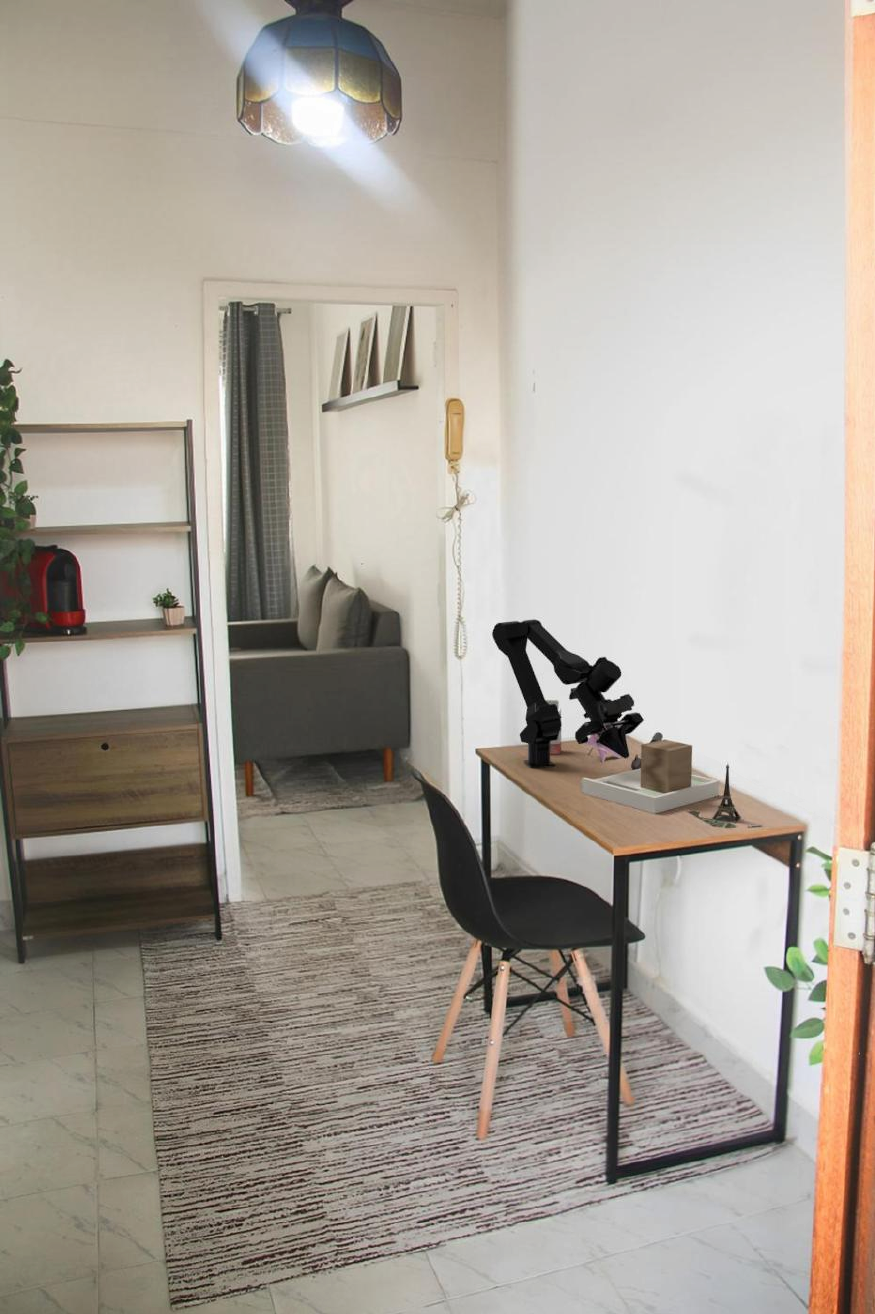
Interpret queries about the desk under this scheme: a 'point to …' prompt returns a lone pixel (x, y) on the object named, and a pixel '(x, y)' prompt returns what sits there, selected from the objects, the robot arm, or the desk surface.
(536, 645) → the robot arm
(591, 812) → the desk surface
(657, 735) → the portable electronic device stand
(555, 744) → the ink cartridge box
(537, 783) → the desk surface
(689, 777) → the walnut block
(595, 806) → the desk surface
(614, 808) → the desk surface
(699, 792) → the box
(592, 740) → the lily
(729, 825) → the eiffel tower figurine
